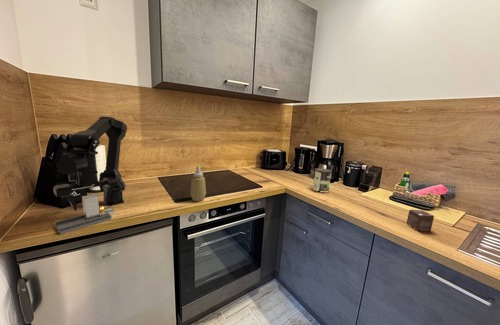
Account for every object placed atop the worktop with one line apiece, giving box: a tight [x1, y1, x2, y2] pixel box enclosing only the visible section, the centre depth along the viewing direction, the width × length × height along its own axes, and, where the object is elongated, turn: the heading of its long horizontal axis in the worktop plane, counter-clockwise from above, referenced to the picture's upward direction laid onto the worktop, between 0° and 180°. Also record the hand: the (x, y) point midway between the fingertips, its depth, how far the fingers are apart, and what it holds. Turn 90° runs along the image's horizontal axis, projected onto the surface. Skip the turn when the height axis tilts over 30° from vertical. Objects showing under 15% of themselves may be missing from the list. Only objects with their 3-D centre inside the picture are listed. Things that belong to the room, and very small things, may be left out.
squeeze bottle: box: [189, 165, 207, 202], centre depth 102 cm, size 8×8×18 cm
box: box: [406, 209, 435, 232], centre depth 85 cm, size 6×6×7 cm
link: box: [81, 193, 116, 220], centre depth 78 cm, size 9×5×8 cm, turn 143°
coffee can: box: [312, 167, 333, 192], centre depth 130 cm, size 10×10×14 cm
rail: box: [54, 205, 112, 235], centre depth 75 cm, size 15×9×4 cm, turn 143°
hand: (91, 206), depth 76 cm, fingers open, 9 cm apart
